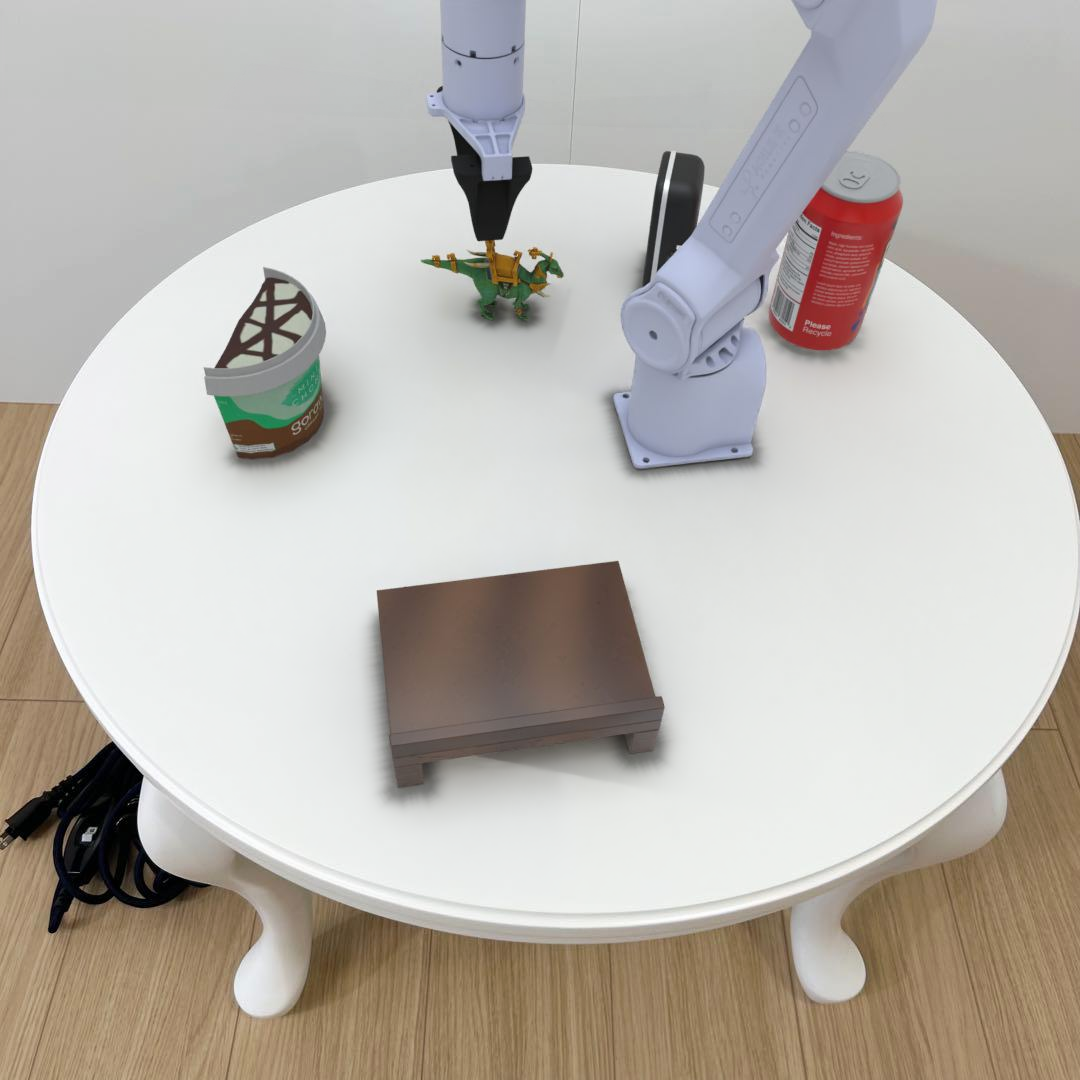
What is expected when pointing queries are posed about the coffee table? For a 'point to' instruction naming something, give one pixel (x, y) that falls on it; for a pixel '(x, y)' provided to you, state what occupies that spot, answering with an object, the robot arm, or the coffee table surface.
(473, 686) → the display stand
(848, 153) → the soda can
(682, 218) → the battery charger
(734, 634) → the coffee table surface
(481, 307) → the figurine
